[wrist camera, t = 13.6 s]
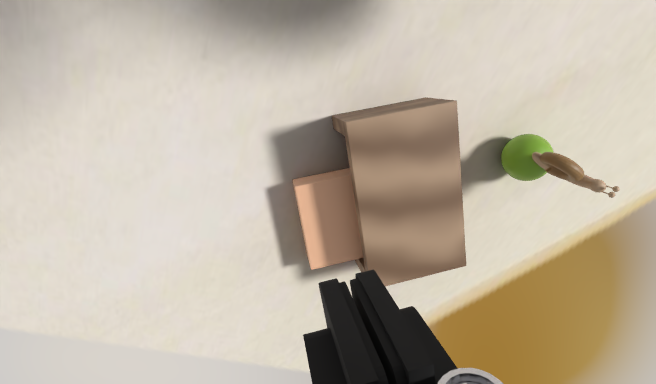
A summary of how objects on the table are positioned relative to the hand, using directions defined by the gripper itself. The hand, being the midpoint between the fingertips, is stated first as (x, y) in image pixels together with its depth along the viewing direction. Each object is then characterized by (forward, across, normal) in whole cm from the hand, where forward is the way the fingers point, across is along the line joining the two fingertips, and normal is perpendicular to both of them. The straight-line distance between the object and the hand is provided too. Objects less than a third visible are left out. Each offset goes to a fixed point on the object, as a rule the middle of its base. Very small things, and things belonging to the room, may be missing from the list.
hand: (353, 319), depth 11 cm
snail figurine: (+32, -28, +7) cm, 43 cm away
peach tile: (+33, -7, +9) cm, 35 cm away
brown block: (+32, -11, +7) cm, 35 cm away
